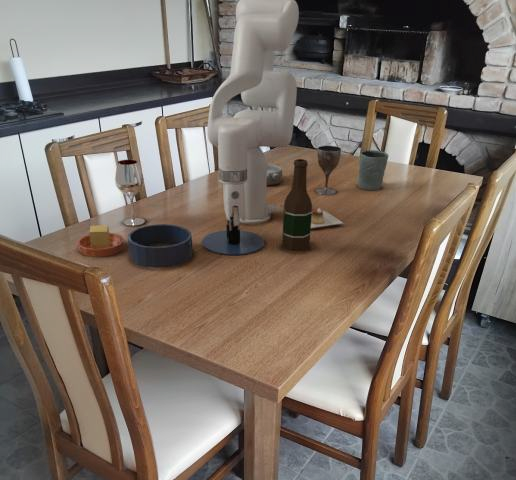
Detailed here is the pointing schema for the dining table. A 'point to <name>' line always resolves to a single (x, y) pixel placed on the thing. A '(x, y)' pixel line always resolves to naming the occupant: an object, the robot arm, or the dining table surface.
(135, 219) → the wineglass
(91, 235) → the cheese block
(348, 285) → the dining table surface
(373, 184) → the green cup
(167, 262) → the pan
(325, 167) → the wine glass
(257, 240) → the lid
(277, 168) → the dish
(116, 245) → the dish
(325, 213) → the dessert
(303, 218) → the beer bottle
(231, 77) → the robot arm
